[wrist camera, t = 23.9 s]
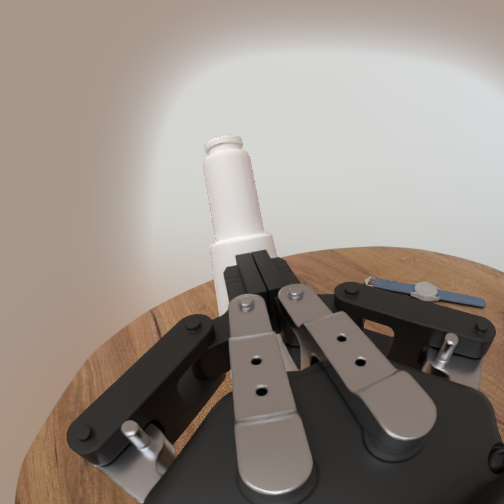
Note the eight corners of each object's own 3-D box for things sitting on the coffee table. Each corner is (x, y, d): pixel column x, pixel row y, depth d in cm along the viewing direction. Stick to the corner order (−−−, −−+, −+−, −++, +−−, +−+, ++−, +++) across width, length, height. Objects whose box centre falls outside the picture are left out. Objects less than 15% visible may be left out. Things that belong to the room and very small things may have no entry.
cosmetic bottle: (302, 486, 12) (236, 107, 11) (227, 466, 15) (151, 152, 14) (331, 432, 17) (289, 137, 16) (265, 423, 20) (214, 163, 19)
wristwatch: (366, 276, 39) (367, 270, 39) (482, 297, 28) (484, 292, 28) (360, 290, 36) (360, 284, 36) (486, 314, 25) (488, 308, 25)
